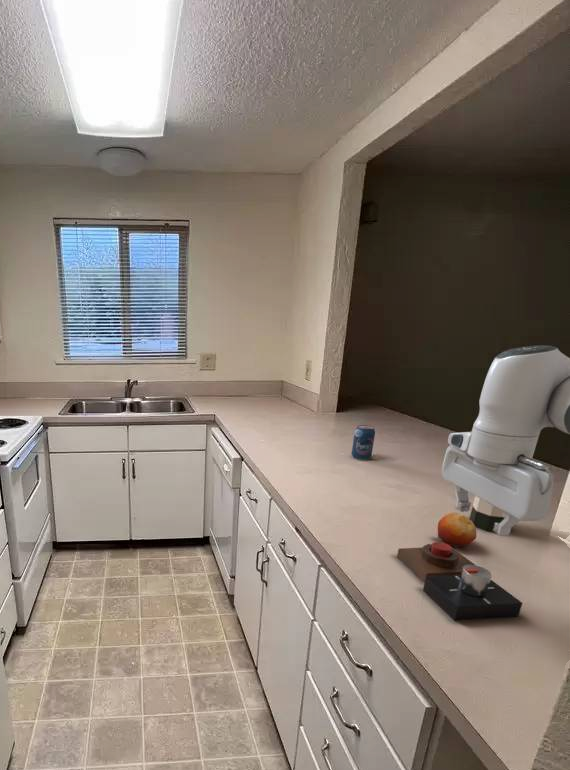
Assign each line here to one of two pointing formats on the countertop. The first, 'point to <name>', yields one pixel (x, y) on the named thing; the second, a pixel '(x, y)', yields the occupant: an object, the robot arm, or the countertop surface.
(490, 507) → the wine bottle
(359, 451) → the soda can
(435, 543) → the red button
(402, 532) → the countertop surface
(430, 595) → the dial panel
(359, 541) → the countertop surface
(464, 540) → the fruit
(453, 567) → the button box
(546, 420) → the robot arm
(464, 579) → the dial
